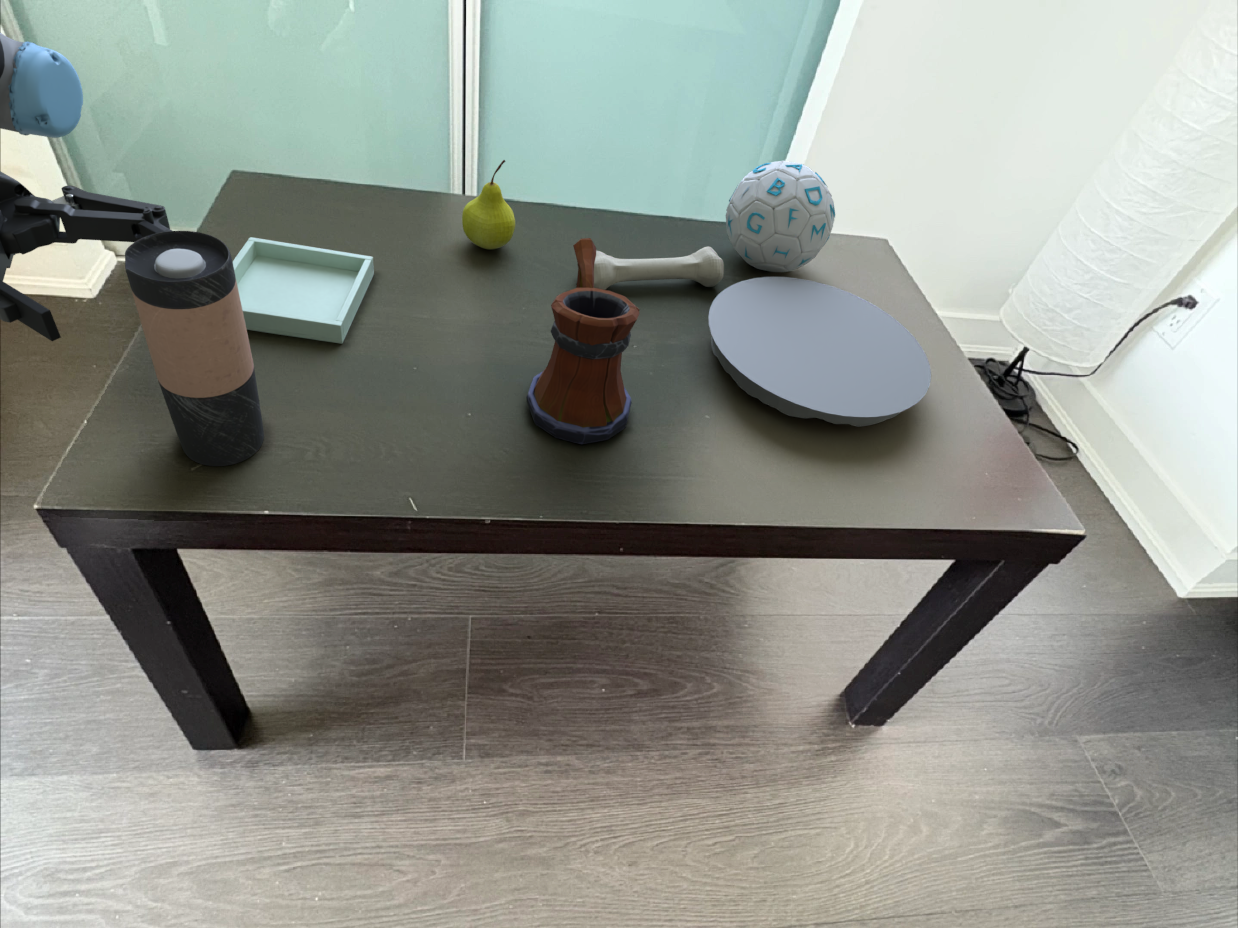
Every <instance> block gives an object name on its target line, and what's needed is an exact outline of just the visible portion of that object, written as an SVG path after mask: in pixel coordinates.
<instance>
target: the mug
mask: <svg viewBox="0 0 1238 928" xmlns="http://www.w3.org/2000/svg"><path fill="white" fill-rule="evenodd" d="M573 250H574V254H575V258H576V263H577V264H576V265H577V279H576V280H577V281H576V287H575V288H572V289H570V290H566V291H564V292H561V293H560V294H558V295H556V297H555V298H554V299H553V301H552V303H551V304H550V307H551V311H552V314H553V318H554V321H553V323H552V326H551V329H550V334H551V336H552V338H553V340H554V343H553V346H552V351H551V355H550V358H549V361H548V363H547V365H546V367H545V368H544V370H543V371H541V372H538V373H537V374H536V375H534V376H533V377H532V380H531V383H530V386H529V389H528V393H527V395H526V403H527V406H528V410H529V411H530V415H531V417H532V420H533V422H534V424H535V426H537V427H539V428H540V429H541V430H543V431H544V432H546V433H548V434H550V435H551V436H552V437H554V438H555V439H559V440H563V441H567V442H571V443H574V444H578V445H586V444H591V443H597V442H602V441H607V440H610V439H611V438H612V437H614V436H615V435H617V434H619V433H620V432H622V431H623V430H624V429H626V427H627V424H628V420H629V416H630V411H631V406H632V397H631V396H630V393H629V392H628V391H627V389H626V387H625V384H624V380H623V375H622V369H621V368H622V356H623V353H624V352H625V350H626V349H627V348H628V347H629V345H630V342H631V336H632V333H631V331H632V329H633V327H634V326H635V324H636V322H637V321H638V318H639V316H640V313H641V312H640V310H641V309H640V308H639V307H638V306H637V305H635V304H634V303H633V302H632V301H631V300H629V298H628V297H626V296H625V295H622V294H620V293H617V292H614V291H611V290H607V289H605V290H603V289H598V288H594V263H595V258H596V251H597V247H596V245H595V243H594V241H593V239H592V238H590V237H584V238H580V239H578V241H576V242H575V243H574V244H573Z"/></svg>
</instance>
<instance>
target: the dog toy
mask: <svg viewBox="0 0 1238 928" xmlns="http://www.w3.org/2000/svg"><path fill="white" fill-rule="evenodd" d="M724 275H725V263H724V260H723V259H722V258H721V257H720V256H719V255H718V253H717V252H716V251H715V249H713V247H711V246H709V245H708V246H704V247H701V248H700V249H698V250H697V251H695V252H692V253H691V254H689V255H685V256H678V257H661V258H658V257H657V258H656V257H655V258H618V257H613V255H607V254H606V253H604V252H603V251H600V250H596V258H595V263H594V288H598V289H603V290H607V289H608V288H609V287H611V286H613V285H615V284H618V283H623V282H624V283H625V282H636V281H638V282H639V281H663V280H690V281H694V282H697V283H699V284H701V285H702V286H704V287H707V288H712V287H715V286H716V285H718V284H719V283H720V282H721V281H722V280H723V279H724Z"/></svg>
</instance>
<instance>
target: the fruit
mask: <svg viewBox="0 0 1238 928" xmlns="http://www.w3.org/2000/svg"><path fill="white" fill-rule="evenodd" d="M505 163H506V160H505V159H503V160H502V161H501V163H500V164H499V165H498V167H497V168H496V169H495V170H494V173H493V175H492V177H491V180H490V181H488V182H486V183H485V184H484V185H483V187H482V189H481V191H480V193H479V195H478V196H476V197H475V198H474V199H472V200H470V201H469V202H467V203H466V204H465V206H464V207H463V210H462V214H461V215H462V216H461V224H462V229H463V233H464V234H465V236H466V237H467V238H468V240H469V241H470V242H471V243H473V244H474V245H475V246H477V247H479V248H481V249H485V250H496V249H500V248H502V247H504V246H505V245H508V243H509V242H510V241H511V240H512V238H513V235H514V232H515V229H516V218H515V213H514V211H513V209H512V207H511V206H510V205H509V204H508V203H507V202H506V201H505V199H504V197H503V194H502V190H501V187H500V186H499V184H498V183H496V182H494V180H495V179H494V178H495V175H496V174H497V173H498V172H499V170H500V169H501V168H502V167H503V165H504V164H505Z"/></svg>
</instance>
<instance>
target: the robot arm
mask: <svg viewBox="0 0 1238 928" xmlns="http://www.w3.org/2000/svg"><path fill="white" fill-rule="evenodd" d="M83 105H84V93H83V87H82V83H81V80H80V77H79V75H78V73H77V70H76V69H75V67H74V65H73V64H72V62H71V61H70V60H69V59H68V58H67V57H66V56H65V55H63V53H60V52H58V51H57V50H54V49H51V48H48V47H45V46H41V45H38V44H36V43H35V42H31V41H27V40H26V41H18V40H16V39H13V38H10V37H8V36H6V35H5V34H3V33H2V32H0V129H1V130H6V131H9V132H10V131H11V132H15V133H18V134H19V135H22V136H29V135H32V136H39V137H46V138H52V139H55V138H56V139H59V138H62V137H65V136H67V135H70V134H71V133H72V132H73V131H74V130H75V128H76V127H78V124H79V122H80V119H81V117H82V114H81V113H82V109H83ZM61 192H62V194H63V195H62V196H60V197H58V198H55V199H53V200H51V199H49V198H46V197H41V196H36V195H34V193H32V192H31V190H29V189H28V188H27V187H26V186H25V185H23V184H22V183H21V182H20V181H18V180H17V179H15V178H14V177H11V176H10V175H8V174H6V173H4V172H3V171H1V170H0V320H1V321H2V322H5V323H9V324H10V323H13V322H16V321H18V322H20V323H21V324H23V325H24V326H27V327H28V328H30V329H32V330H33V331H34V332H36V333H38V334H39V335H40V336H42V337H44V338H46V339H47V340H49V341H50V342H55V341H56V340H59V339H61V338H62V336H61V333H60V331H59V328H58V326H57V324H56V321H55V318H54V316H53V314H52V311H51V309H49V308H47V307H46V306H44V305H42V304H40V303H39V302H37V301H36V300H34V299H32V298H31V297H30V296H28V295H26V294H25V293H23V292H21V291H19V289H16V288H15V287H13V286H12V285H10V284H8V283H6V282H5V281H4V280H5V275H6V272H7V269H10V268H11V266H12V262H13V259H14V257H15V256H16V255H19V254H21V255H25V254H28V253H31V252H33V251H35V250H36V249H38V248H42V247H47V246H50V245H53V244H56V243H57V244H73V245H74V244H76V243H78V241H79V240H87V241H104V242H123V243H134V242H136V241H137V240H139V239H141V238H143V237H146V236H149V235H152V234H156V233H161V232H167V231H173V230H172V229H171V226H170V222H169V218H168V215H167V214H168V213H167V211H166V207H165V206H164V205H161V204H156V203H149V202H144V201H139V200H133V199H128V198H124V197H117V196H111V195H106V194H100V193H95V192H91V191H90V192H89V191H86V190H84V189H81V188H79V187H77V186H74V185H64V186H62V187H61ZM61 223H62V226H63V228H64V229H63V230H64V231H61V229H60V228H61V225H60V224H61Z"/></svg>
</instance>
